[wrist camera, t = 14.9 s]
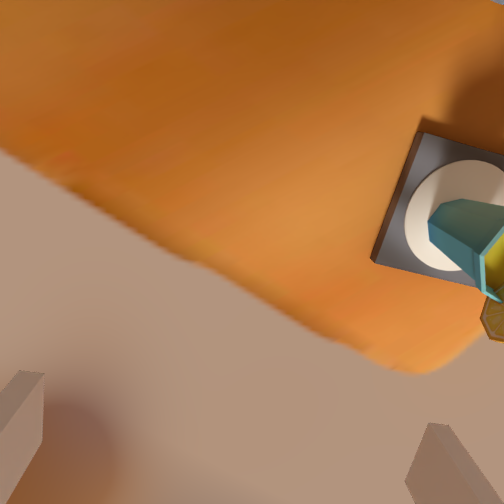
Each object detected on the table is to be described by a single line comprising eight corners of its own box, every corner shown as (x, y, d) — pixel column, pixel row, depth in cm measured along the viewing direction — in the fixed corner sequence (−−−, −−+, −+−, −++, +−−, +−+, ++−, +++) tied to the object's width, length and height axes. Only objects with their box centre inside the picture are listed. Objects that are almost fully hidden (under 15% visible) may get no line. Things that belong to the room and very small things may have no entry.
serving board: (417, 131, 37) (426, 132, 36) (537, 166, 39) (551, 169, 37) (369, 258, 41) (375, 264, 40) (481, 285, 43) (491, 292, 41)
